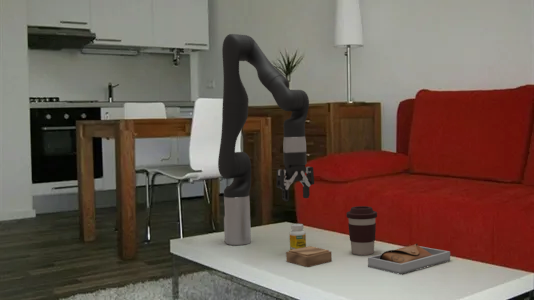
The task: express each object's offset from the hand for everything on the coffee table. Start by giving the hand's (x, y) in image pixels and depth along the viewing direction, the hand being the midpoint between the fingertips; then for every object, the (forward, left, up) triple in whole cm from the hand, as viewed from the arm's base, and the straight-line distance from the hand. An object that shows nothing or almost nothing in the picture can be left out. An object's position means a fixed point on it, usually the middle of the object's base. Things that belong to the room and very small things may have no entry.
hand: (296, 199), depth 198 cm
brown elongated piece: (+35, +14, -18) cm, 42 cm away
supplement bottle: (0, 0, -18) cm, 18 cm away
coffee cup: (+15, +15, -18) cm, 28 cm away
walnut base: (+11, -5, -18) cm, 22 cm away
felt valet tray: (+35, +14, -18) cm, 42 cm away
